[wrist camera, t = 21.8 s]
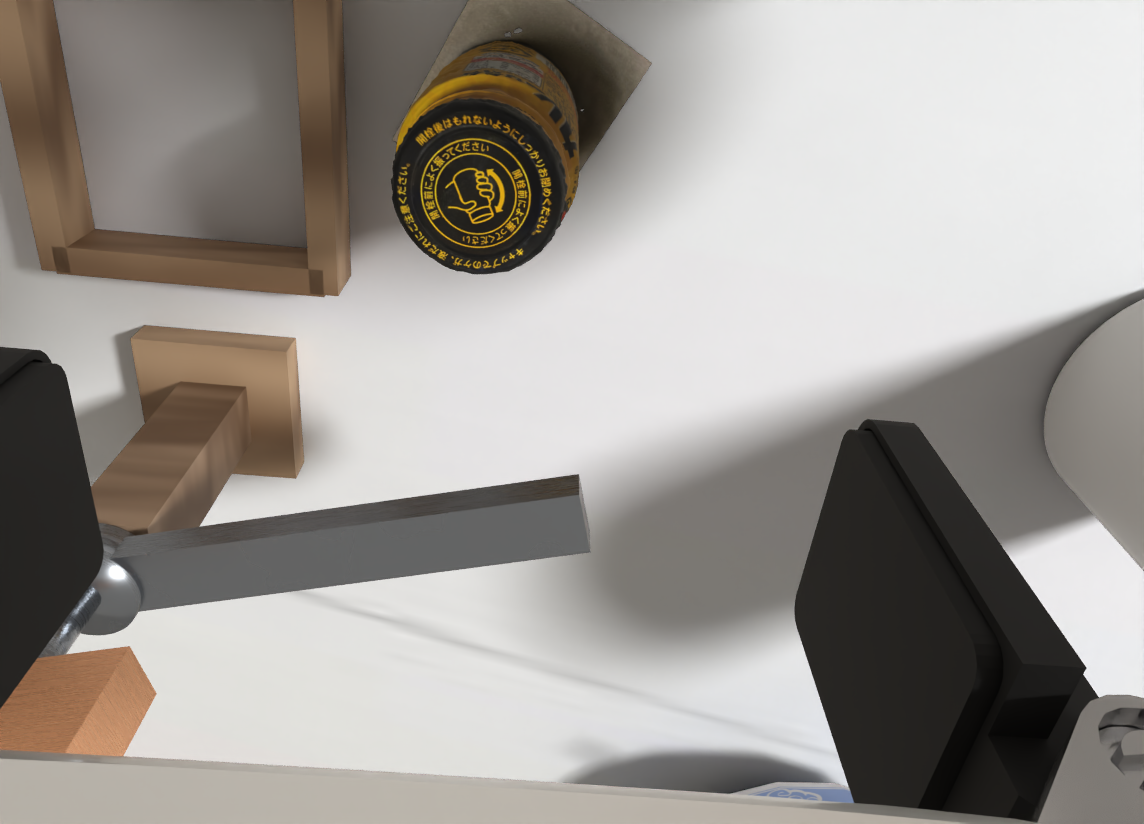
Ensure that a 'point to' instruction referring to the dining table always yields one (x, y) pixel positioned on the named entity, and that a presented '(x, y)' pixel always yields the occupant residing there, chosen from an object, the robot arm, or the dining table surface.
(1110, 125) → the dining table surface
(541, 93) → the condiment
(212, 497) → the frame
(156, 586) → the t key
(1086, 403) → the cylinder vase
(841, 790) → the ramen bowl
